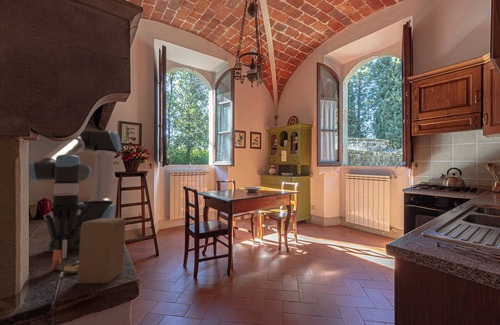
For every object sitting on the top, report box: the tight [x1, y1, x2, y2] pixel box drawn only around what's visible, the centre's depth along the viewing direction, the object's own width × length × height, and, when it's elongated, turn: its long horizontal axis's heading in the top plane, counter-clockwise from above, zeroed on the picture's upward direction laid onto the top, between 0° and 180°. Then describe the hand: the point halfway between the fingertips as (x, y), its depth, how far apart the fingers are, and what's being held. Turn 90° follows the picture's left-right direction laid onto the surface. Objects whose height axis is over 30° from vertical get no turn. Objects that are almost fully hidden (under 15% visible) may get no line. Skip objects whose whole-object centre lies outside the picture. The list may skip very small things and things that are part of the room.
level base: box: [56, 269, 78, 279], centre depth 82 cm, size 9×9×2 cm
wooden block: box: [76, 217, 126, 284], centre depth 78 cm, size 10×10×20 cm
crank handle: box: [51, 249, 79, 274], centre depth 83 cm, size 13×7×7 cm, turn 81°
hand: (62, 257), depth 86 cm, fingers closed
